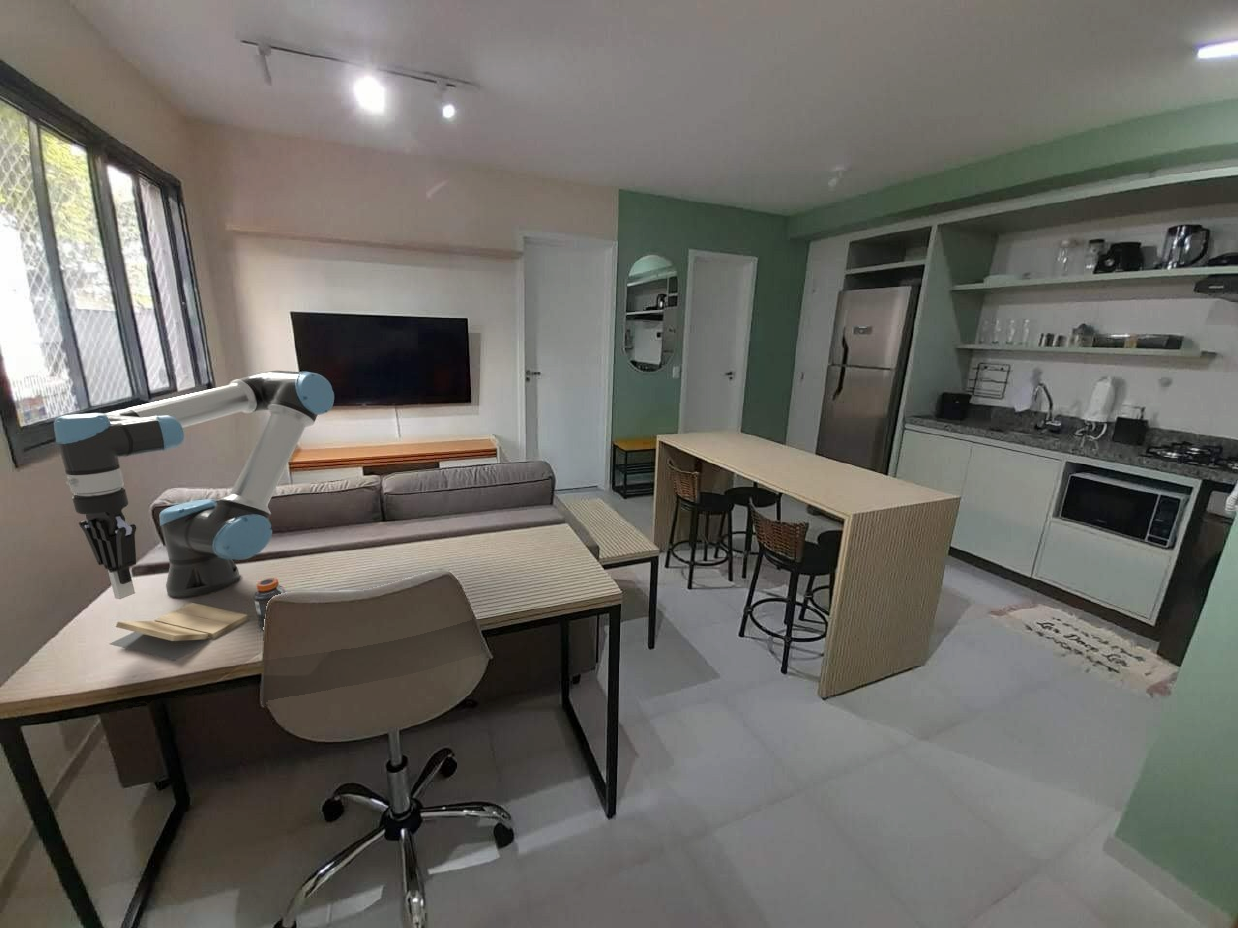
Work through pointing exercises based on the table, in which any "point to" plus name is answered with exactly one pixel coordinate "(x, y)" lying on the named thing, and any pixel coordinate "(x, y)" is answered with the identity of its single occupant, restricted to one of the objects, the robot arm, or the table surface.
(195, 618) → the floor board
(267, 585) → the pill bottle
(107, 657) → the table surface
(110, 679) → the table surface
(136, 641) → the underlay mat
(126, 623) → the board
